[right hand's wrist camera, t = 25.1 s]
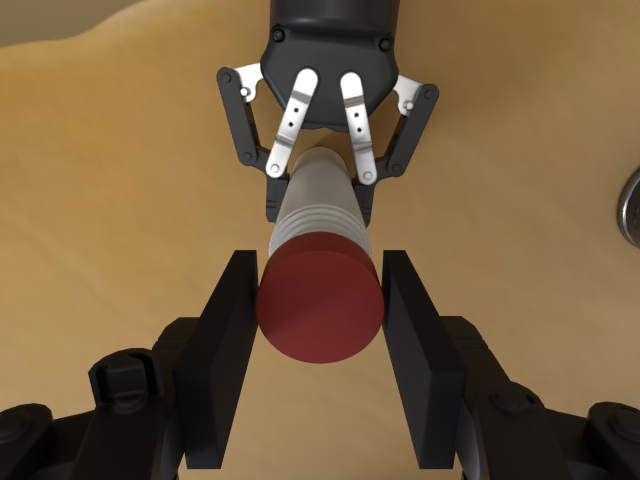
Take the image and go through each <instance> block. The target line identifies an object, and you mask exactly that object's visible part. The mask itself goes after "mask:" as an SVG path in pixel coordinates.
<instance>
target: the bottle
mask: <svg viewBox="0 0 640 480" xmlns="http://www.w3.org/2000/svg"><path fill="white" fill-rule="evenodd" d="M318 231H322V232H331V233H336V234H339V235H342V236H345V237H347V238H349V239H351V240H352V241H354V242H356V243H357V244H358V245H359V246H361V247H362V248H363V249H364V250H365V252H366V253H367V254H368V255H369V257H370V258H371V243H370V239H369V236H368V233H367V230H366V227H365V224H364V221H363V218H362V215H361V211H360V208H359V205H358V202H357V199H356V196H355V193H354V190H353V187H352V184H351V181H350V178H349V175H348V172H347V169H346V166H345V163H344V161H343V159H342V158H341V157H340V155H339V154H338V153H336V152H335V151H334V150H332V149H329V148H326V147H314V148H311V149H308V150H306V151H305V152H304V153H302V154H301V155H300V156H299V158H298V159H297V161H296V163H295V166H294V169H293V172H292V175H291V178H290V181H289V184H288V187H287V190H286V193H285V196H284V199H283V202H282V205H281V209H280V212H279V215H278V218H277V221H276V224H275V227H274V230H273V233H272V236H271V239H270V243H269V258H270V257H271V255H272V254H273V253H274V252H275V250H276V249H277V248H278V247H279V246H281V245H282V244H283V243H284V242H286V241H288V240H289V239H291V238H293V237H295V236H298V235H301V234H304V233H309V232H318Z"/></svg>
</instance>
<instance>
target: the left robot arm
mask: <svg viewBox="0 0 640 480" xmlns="http://www.w3.org/2000/svg"><path fill="white" fill-rule="evenodd" d="M399 2H400V0H271V2H270V34H269V41H268V45H267V47H266V50H265V51H264V53H263V55H262V57H261V60H260V63H255V64H251V65H246V66H242V67H238V68H231V67H223V68H221V69H220V70H219V71H218V73H217V82H218V86H219V89H220V93H221V97H222V100H223V104H224V108H225V111H226V115H227V119H228V122H229V126H230V129H231V133H232V137H233V140H234V144H235V148H236V151H237V155H238V159H239V161H240V162H241V163H242V164H243V165H245V166H253V167H255V168H257V169H259V170H261V171H263V172H264V174H265V175H266V178H267V196H266V216H267V219H268V222H275V224H276V221H277V218H278V215H279V212H280V209H281V205H282V202H283V199H284V196H285V193H286V190H287V187H288V184H289V181H290V173H287V163H288V160H289V158H290V155H291V152H292V150H293V147H294V145H295V142H296V139H297V137H298V134H299V132H300V129H311V130H313V129H318V128H323V127H326V128H329V129H331V130H334V131H337V132H348V137H349V142H350V146H351V151H352V155H353V160H354V165H355V170H356V175H355V178H352V183H351V184H352V187H353V190H354V193H355V196H356V199H357V202H358V205H359V208H360V211H361V215H362V218H363V221H364V224H365V227H366V228H367V227H368V225H369V223H370V218H371V210H372V202H373V194H374V188H375V185H376V184H377V182H379V181H380V180H382V179H385V178H389V177H392V176H393V177H399V176H401V175H403V174H404V172H405V170H406V168H407V166H408V163H409V161H410V159H411V157H412V155H413V152H414V150H415V148H416V146H417V144H418V141H419V139H420V137H421V135H422V132H423V130H424V128H425V126H426V124H427V121H428V119H429V117H430V115H431V113H432V110H433V108H434V106H435V104H436V102H437V99H438V97H439V90H438V88H437V87H436V86H435V85H433V84H421V83H418V82H416V81H413V80H411V79H409V78H406V77H404V76H401V75H399V71H398V66H397V64H396V61H395V57H394V41H395V33H396V25H397V18H398V10H399ZM263 79H264V80H265V81H266V83H267V85H268V86H269V88H270V90H271V91H272V93H273V95H274V96H275V98H276V99H277V101H278V103H279V104H280V106H281V108H282V109H283V111H284V116H283V118H282V121H281V124H280V127H279V130H278V132H277V135H276V138H275V142H274V145H273V148H272V150H269V149H266V148H264V147H262V146H261V144H260V140H259V137H258V133H257V129H256V125H255V121H254V117H253V113H252V109H251V105H250V102H251V101H253V100H255V99H256V97H257V95H258V89H257V88H258V84H259V82H260V81H261V80H263ZM392 90H393V91H394V92H395V94H396V97H397V100H396V105H395V106H396V110H397V111H398V112H399V113H400V114H401V117H400V119H399V121H398V124H397V126H396V128H395V131H394V133H393V135H392V138H391V140H390V142H389V145H388V147H387V149H386V152H385V154H384V156H382V157H378V158H375V159H374V155H373V150H372V141H371V135H370V130H369V124H368V118H369V116H370V115H371V114H372V113H373V112H374V111H375V109H376V108H377V107H378V106H379V105H380V104H381V102H382V101H383V100H384V99H385V98H386V97H387V95H388V94H389V93H390V92H391V91H392ZM618 223H619V227H620V230H621V232H622V234H623V235H624V237H625V238H626V239H627V240H628V241H629V242H630V243H631V244H632V245H634V246H635V247H637V248H639V249H640V168H639V169H638V170H637V171H636V173H635V174H634V175H633V176H632V177H631V179H630V180H629V182H628V183H627V185H626V186H625V188H624V190H623V192H622V195H621V198H620V201H619V205H618Z"/></svg>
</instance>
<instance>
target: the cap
mask: <svg viewBox="0 0 640 480" xmlns="http://www.w3.org/2000/svg"><path fill="white" fill-rule="evenodd" d="M384 310H385V303H384V296H383V292H382V289H381V286H380V283H379V279H378V276H377V273H376V270H375V267H374V264H373V262H372V260H371V258H370V257H369V255H368V254H367V253H366V252H365V250H364V249H363V248H362V247H361V246H359V245H358V244H357V243H356V242H354V241H352V240H351V239H349V238H347V237H345V236H342V235H339V234H336V233H331V232H322V231H318V232H309V233H304V234H301V235H298V236H295V237H293V238H291V239H289V240H288V241H286V242H284V243H283V244H282V245H281V246H279V247H278V248H277V249H276V250H275V252H274V253H273V254H272V255H271V257H270V258H269V260H268V262H267V264H266V266H265V270H264V273H263V276H262V279H261V282H260V286H259V289H258V292H257V296H256V302H255V311H256V318H257V321H258V324H259V327H260V329H261V331H262V333H263V334H264V336H265V337H266V339H267V340H268V341H269V342H270V343H271V344H272V345H273V346H274V347H275V348H276V349H277V350H279V351H280V352H282V353H283V354H285V355H287V356H289V357H291V358H293V359H296V360H299V361H303V362H308V363H317V364H323V363H332V362H337V361H341V360H344V359H347V358H349V357H351V356H353V355H355V354H357V353H358V352H360V351H361V350H363V349H364V348H365V347H366V346H367V345H368V344H369V343H370V342H371V341H372V340H373V339H374V337H375V336H376V334H377V333H378V331H379V329H380V326H381V324H382V321H383V317H384Z"/></svg>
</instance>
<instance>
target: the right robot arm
mask: <svg viewBox="0 0 640 480" xmlns="http://www.w3.org/2000/svg"><path fill="white" fill-rule="evenodd" d="M258 289H259V286H258V269H257V252H256V250H235V251H234V253H233V255H232V257H231V259H230V261H229V263H228V265H227V267H226V268H225V270H224V272H223V274H222V276H221V278H220V280H219V282H218V284H217V286H216V287H215V289H214V291H213V293H212V295H211V297H210V299H209V301H208V303H207V305H206V306H205V308H204V310H203V312H202V314H201V316H200V317H179V318H177V319H176V320H175V321H173V322H172V323H171V324H169V325H168V326H167V327H165V329H164V330H163V332H162V333H161V335H160V337H159V338H158V341H156V343H155V344H154V346H153V347H152V350H149V349H145V348H130V349H125V350H121V351H117V352H115V353H112V354H110V355H108V356H105V357H104V358H102V359H101V360H100V361H98V362H97V363H95V364H94V365H93V367H92V368H91V369H90V370H89V372H88V375H89V379H90V383H91V387H92V391H93V395H94V400H95V404H96V407H95V410H92V411H88V412H85V413H81V414H77V415H72V416H68V417H64V418H59V419H55V420H54V419H53V416H52V412H51V410H50V409H49V408H48V407H47V406H45V405H42V404H36V403H32V404H24V405H19V406H16V407H13V408H10V409H7V410H4V411H2V412H0V480H179V476H178V468H179V465H180V462H181V460H182V457H183V454H184V452H185V458H186V464H187V469H221V465H222V461H223V458H224V454H225V450H226V446H227V442H228V438H229V435H230V431H231V427H232V423H233V419H234V416H235V412H236V408H237V404H238V400H239V396H240V393H241V389H242V385H243V381H244V377H245V373H246V370H247V366H248V362H249V358H250V354H251V351H252V347H253V343H254V339H255V335H256V331H257V328H258V321H257V318H256V311H255V302H256V296H257V292H258ZM381 289H382V292H383V296H384V303H385V310H384V317H383V321H382V328H383V331H384V335H385V339H386V343H387V347H388V351H389V354H390V358H391V362H392V366H393V370H394V373H395V377H396V381H397V385H398V389H399V393H400V396H401V400H402V404H403V408H404V412H405V416H406V419H407V423H408V427H409V431H410V435H411V438H412V442H413V446H414V450H415V454H416V458H417V461H418V465H419V469H453V464H454V458H455V452H457V455H458V458H459V460H460V463H461V466H462V468H463V470H462V476H461V480H640V410H638V409H636V408H633V407H630V406H627V405H624V404H621V403H614V402H601V403H595V404H594V405H593V406H592V407H591V408H590V409H589V412H588V416H587V418H584V417H579V416H575V415H571V414H566V413H562V412H557V411H554V410H551V409H547V408H545V407H544V405H543V403H542V402H541V400H540V399H539V397H538V396H537V395H536V394H534V393H533V392H532V391H531V390H529V389H528V388H526V387H524V386H522V385H520V384H518V383H516V382H512V381H510V379H509V378H508V376H507V375H506V373H505V372H504V370H503V369H502V367H501V366H500V364H499V362H498V361H497V359H496V358H495V356H494V355H493V353H492V352H491V350H490V349H488V346H487V344H486V343H485V341H484V340H482V336H481V335H480V333H479V332H478V330H477V329H476V327H475V326H474V325H473V324H471V323H470V322H469V321H467V320H466V319H464V318H463V317H462V316H439V314H438V312H437V310H436V308H435V306H434V305H433V303H432V301H431V299H430V297H429V295H428V293H427V291H426V289H425V287H424V286H423V284H422V282H421V280H420V278H419V276H418V274H417V272H416V270H415V268H414V267H413V265H412V263H411V261H410V259H409V257H408V255H407V253H406V251H405V250H384V252H383V269H382V286H381Z"/></svg>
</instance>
